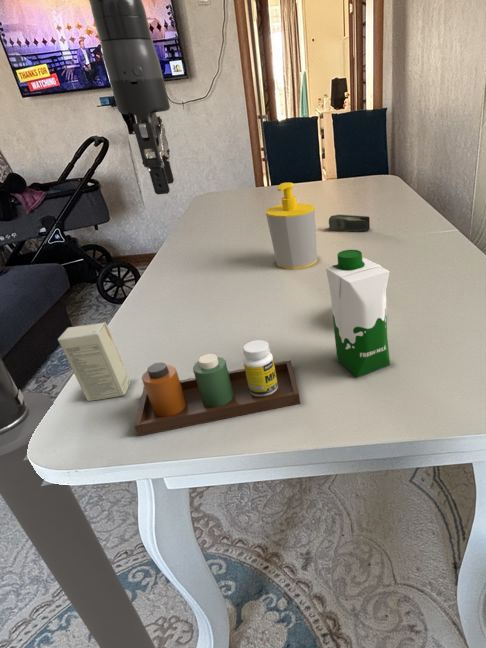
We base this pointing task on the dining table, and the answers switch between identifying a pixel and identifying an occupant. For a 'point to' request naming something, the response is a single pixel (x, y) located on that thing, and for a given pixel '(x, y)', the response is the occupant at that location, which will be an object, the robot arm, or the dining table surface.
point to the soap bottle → (292, 231)
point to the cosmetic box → (95, 361)
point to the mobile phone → (349, 223)
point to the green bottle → (213, 380)
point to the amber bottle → (164, 389)
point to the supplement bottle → (259, 368)
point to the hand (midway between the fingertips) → (165, 188)
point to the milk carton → (359, 312)
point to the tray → (236, 407)
